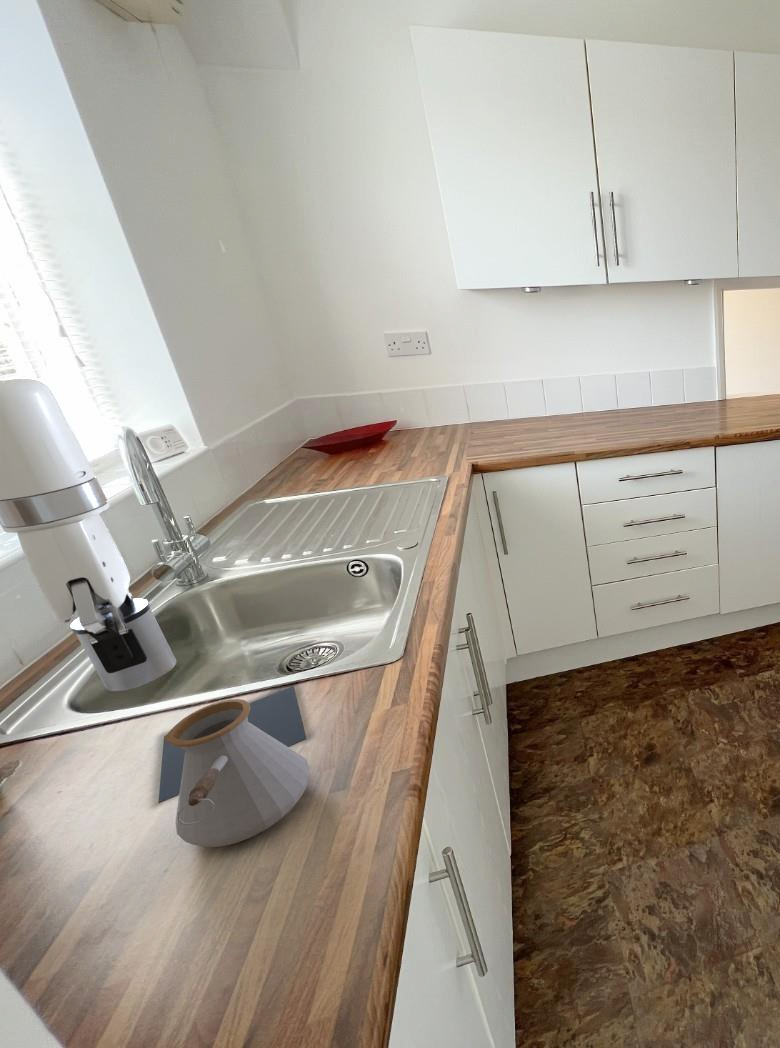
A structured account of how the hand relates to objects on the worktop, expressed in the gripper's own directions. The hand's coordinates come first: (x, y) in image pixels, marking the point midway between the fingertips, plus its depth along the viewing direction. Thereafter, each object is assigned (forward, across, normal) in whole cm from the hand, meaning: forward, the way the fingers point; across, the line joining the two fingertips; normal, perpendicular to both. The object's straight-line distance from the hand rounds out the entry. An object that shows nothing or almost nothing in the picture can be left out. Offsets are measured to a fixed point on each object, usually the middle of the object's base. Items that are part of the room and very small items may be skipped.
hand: (130, 651), depth 65 cm
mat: (+16, 0, +5) cm, 17 cm away
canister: (+3, 0, 0) cm, 3 cm away
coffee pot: (+16, +21, +6) cm, 27 cm away
